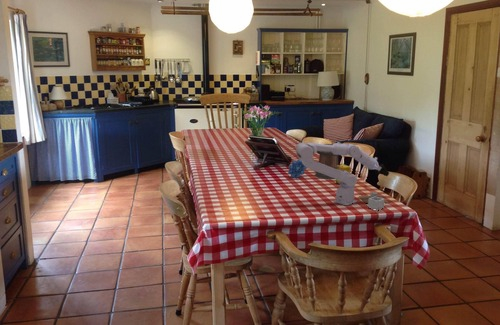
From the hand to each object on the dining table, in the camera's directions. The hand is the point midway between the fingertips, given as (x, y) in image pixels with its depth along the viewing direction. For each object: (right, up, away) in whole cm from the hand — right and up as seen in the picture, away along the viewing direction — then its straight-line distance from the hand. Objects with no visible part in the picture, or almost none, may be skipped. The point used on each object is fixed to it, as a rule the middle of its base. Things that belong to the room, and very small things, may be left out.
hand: (384, 172), depth 236 cm
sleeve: (-8, -18, -10) cm, 22 cm away
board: (-5, -15, +3) cm, 16 cm away
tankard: (-22, -3, +55) cm, 59 cm away
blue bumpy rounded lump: (-41, -4, +48) cm, 63 cm away
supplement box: (-15, -8, +34) cm, 38 cm away
